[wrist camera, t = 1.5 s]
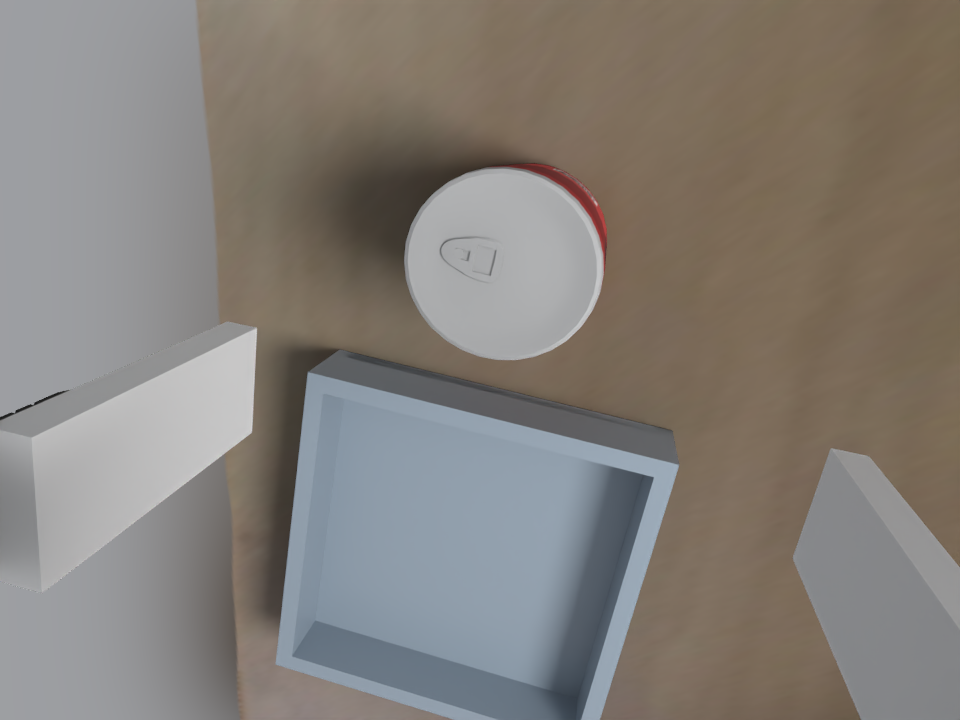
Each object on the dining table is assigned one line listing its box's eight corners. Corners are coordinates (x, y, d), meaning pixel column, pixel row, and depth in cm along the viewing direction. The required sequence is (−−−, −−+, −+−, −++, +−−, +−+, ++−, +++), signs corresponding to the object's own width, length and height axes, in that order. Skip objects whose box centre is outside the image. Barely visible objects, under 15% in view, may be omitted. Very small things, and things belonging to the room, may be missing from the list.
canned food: (457, 165, 37) (395, 169, 26) (609, 159, 35) (605, 163, 25) (463, 305, 39) (407, 360, 28) (606, 306, 37) (602, 364, 27)
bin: (339, 349, 41) (307, 372, 37) (672, 430, 39) (679, 465, 34) (306, 618, 47) (275, 664, 43) (589, 703, 45) (587, 760, 41)
